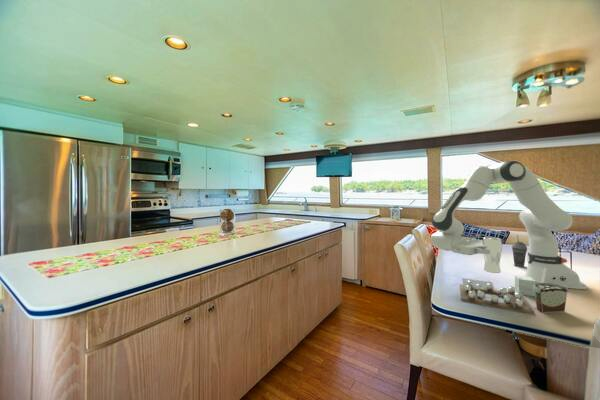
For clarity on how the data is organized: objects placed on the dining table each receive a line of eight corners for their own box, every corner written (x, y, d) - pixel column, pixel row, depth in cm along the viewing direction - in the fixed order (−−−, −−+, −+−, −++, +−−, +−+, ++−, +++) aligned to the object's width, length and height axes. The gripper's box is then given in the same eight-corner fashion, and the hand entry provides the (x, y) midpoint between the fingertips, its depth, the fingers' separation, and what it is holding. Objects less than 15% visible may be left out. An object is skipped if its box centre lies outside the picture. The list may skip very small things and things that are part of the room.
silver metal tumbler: (505, 273, 107) (505, 239, 106) (487, 273, 108) (487, 239, 108) (496, 268, 113) (496, 237, 113) (479, 268, 115) (479, 236, 114)
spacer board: (522, 296, 112) (522, 294, 112) (533, 314, 96) (533, 311, 96) (459, 286, 124) (459, 284, 124) (461, 300, 109) (461, 298, 109)
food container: (551, 304, 104) (552, 281, 103) (568, 311, 98) (568, 287, 97) (524, 305, 103) (524, 282, 103) (538, 312, 97) (539, 288, 97)
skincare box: (530, 291, 117) (530, 276, 117) (535, 296, 112) (536, 281, 111) (514, 289, 120) (514, 274, 119) (518, 294, 114) (519, 279, 114)
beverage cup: (521, 268, 150) (522, 236, 149) (508, 265, 157) (509, 234, 156) (529, 267, 152) (530, 235, 151) (516, 264, 159) (517, 233, 158)
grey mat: (491, 282, 129) (491, 282, 129) (495, 291, 118) (495, 290, 118) (462, 278, 135) (462, 278, 135) (463, 285, 125) (463, 285, 125)
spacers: (517, 296, 112) (517, 287, 112) (527, 312, 98) (527, 302, 97) (464, 287, 123) (464, 279, 123) (465, 301, 108) (465, 292, 108)
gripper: (449, 241, 117) (481, 247, 105) (474, 236, 126) (506, 241, 114) (449, 254, 118) (481, 261, 105) (474, 248, 127) (505, 255, 114)
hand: (494, 251), depth 110 cm, fingers closed on silver metal tumbler, 6 cm apart
